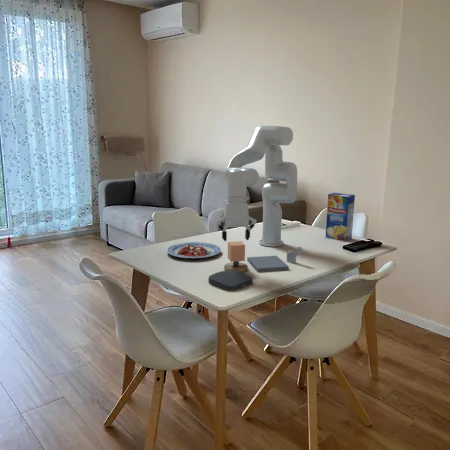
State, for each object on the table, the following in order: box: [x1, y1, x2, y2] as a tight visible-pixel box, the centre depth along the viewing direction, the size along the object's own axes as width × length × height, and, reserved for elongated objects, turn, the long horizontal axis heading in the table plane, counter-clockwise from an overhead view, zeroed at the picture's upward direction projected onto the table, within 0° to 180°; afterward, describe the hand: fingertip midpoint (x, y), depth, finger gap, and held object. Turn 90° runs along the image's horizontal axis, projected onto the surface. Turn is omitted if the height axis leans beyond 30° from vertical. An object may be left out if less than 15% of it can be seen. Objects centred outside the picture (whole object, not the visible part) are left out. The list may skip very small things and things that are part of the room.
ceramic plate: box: [166, 241, 222, 260], centre depth 217 cm, size 26×26×3 cm
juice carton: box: [325, 192, 356, 242], centre depth 244 cm, size 12×8×24 cm, turn 50°
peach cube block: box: [227, 241, 246, 263], centre depth 193 cm, size 6×6×7 cm
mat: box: [246, 255, 290, 273], centre depth 200 cm, size 16×14×2 cm
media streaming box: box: [208, 270, 254, 291], centre depth 179 cm, size 15×15×3 cm
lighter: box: [286, 246, 303, 264], centre depth 204 cm, size 7×2×8 cm, turn 48°
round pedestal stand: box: [223, 261, 249, 273], centre depth 193 cm, size 10×10×10 cm
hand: (235, 239), depth 191 cm, fingers open, 9 cm apart
